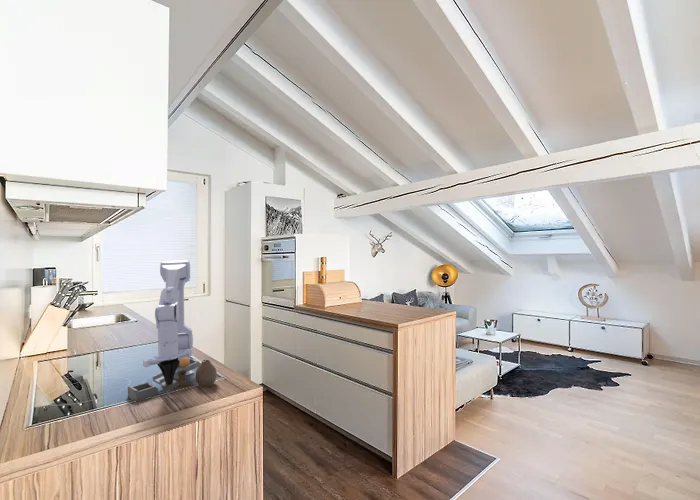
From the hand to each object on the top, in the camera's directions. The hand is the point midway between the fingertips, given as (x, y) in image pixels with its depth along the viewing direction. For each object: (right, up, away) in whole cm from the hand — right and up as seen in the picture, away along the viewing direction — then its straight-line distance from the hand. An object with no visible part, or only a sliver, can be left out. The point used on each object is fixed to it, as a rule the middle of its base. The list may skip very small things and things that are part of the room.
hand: (169, 383), depth 115 cm
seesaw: (0, -1, +8) cm, 8 cm away
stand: (-3, -5, +11) cm, 12 cm away
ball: (-1, +3, +13) cm, 13 cm away
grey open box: (-10, -5, +2) cm, 11 cm away
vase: (+8, -5, +10) cm, 14 cm away
